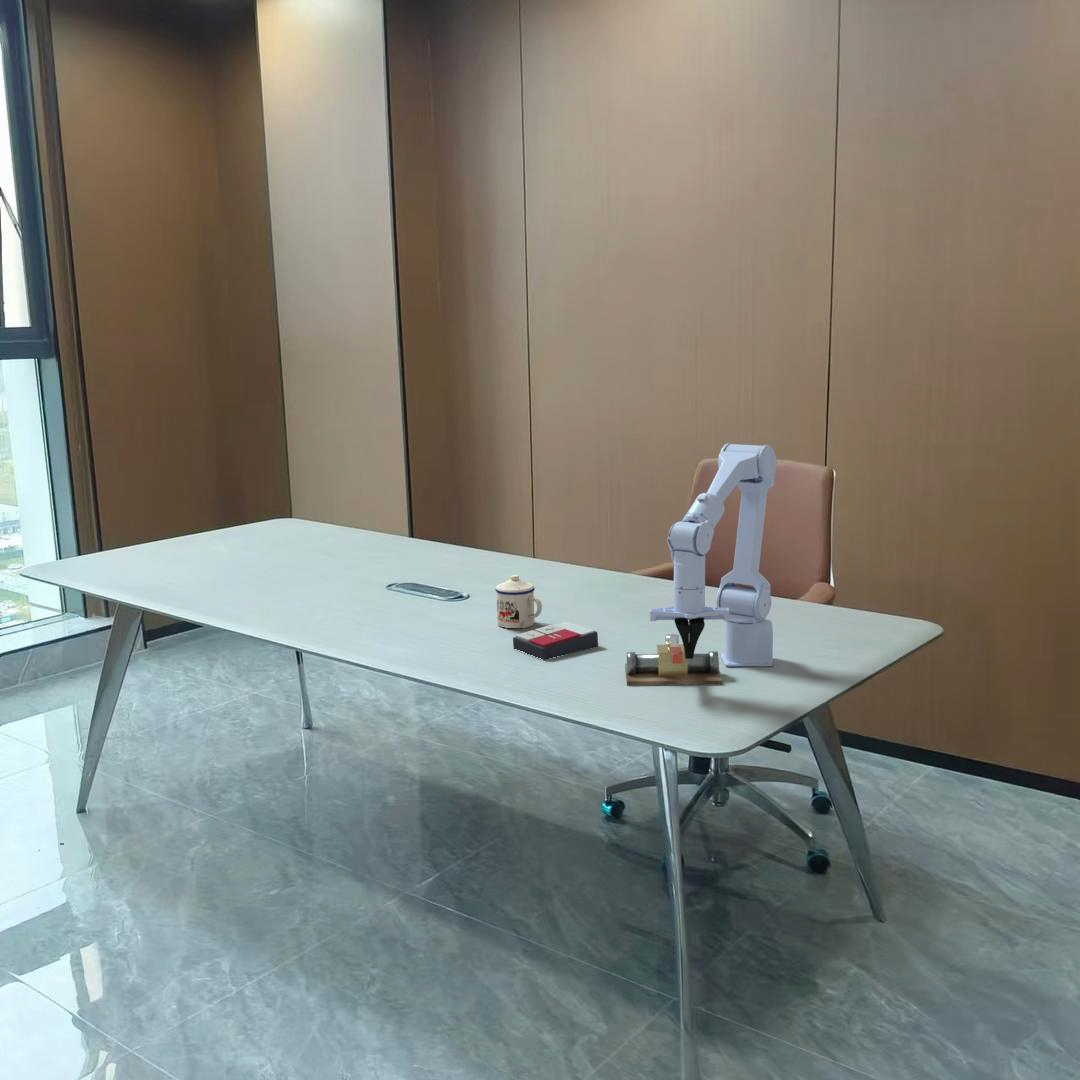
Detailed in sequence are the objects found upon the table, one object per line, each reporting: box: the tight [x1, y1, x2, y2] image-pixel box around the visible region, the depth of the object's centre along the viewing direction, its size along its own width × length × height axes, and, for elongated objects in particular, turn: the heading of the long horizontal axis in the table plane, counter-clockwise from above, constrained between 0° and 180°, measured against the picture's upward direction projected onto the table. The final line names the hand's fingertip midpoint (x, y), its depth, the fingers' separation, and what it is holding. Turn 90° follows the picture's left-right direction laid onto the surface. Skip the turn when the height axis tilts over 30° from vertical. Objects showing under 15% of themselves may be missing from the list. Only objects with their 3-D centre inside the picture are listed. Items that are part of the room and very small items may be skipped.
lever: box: [664, 633, 683, 664], centre depth 202 cm, size 3×14×2 cm, turn 178°
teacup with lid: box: [495, 574, 543, 629], centre depth 247 cm, size 12×9×12 cm
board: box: [624, 663, 723, 686], centre depth 209 cm, size 18×11×1 cm, turn 88°
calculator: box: [512, 621, 599, 660], centre depth 229 cm, size 11×4×15 cm
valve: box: [626, 643, 720, 676], centre depth 209 cm, size 18×5×6 cm, turn 87°
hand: (689, 657), depth 200 cm, fingers closed
